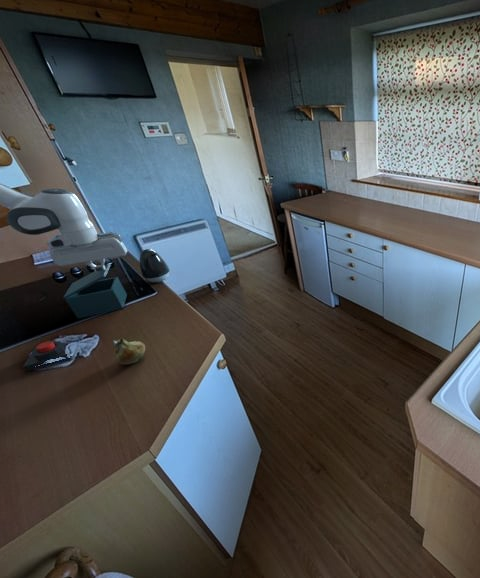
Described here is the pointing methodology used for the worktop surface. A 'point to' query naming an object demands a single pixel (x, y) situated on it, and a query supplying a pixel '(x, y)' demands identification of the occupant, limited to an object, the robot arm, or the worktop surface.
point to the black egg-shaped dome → (153, 266)
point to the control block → (46, 357)
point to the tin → (98, 298)
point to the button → (45, 346)
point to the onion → (129, 351)
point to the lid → (86, 281)
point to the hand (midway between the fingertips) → (100, 270)
